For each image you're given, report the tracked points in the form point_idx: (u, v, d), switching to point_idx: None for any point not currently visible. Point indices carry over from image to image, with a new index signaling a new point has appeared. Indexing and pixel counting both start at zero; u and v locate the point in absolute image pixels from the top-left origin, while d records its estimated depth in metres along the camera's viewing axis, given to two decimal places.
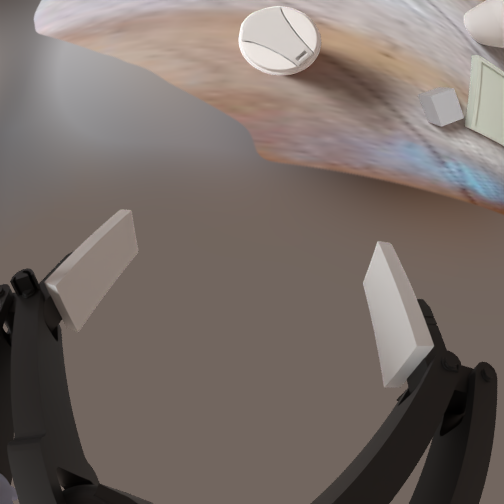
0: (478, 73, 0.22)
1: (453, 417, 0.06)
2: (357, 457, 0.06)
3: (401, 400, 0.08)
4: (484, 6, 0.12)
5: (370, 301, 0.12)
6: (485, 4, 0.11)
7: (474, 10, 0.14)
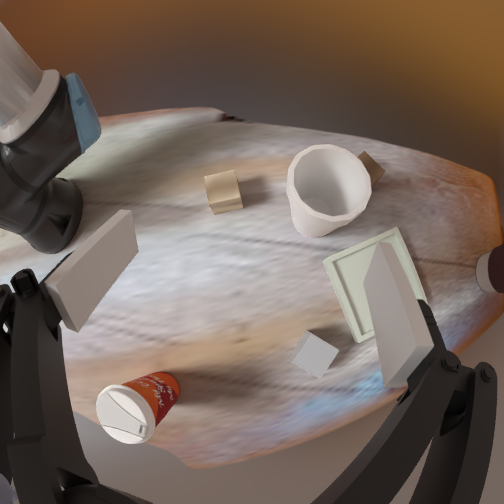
0: (335, 278, 0.37)
1: (453, 417, 0.06)
2: (357, 457, 0.06)
3: (401, 400, 0.08)
4: (290, 204, 0.33)
5: (370, 301, 0.12)
6: (289, 200, 0.33)
7: (291, 211, 0.37)
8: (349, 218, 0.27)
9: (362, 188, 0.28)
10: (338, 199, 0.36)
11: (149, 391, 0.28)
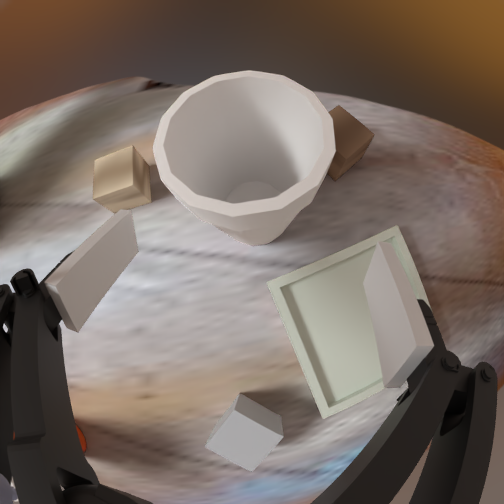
0: (285, 317, 0.21)
1: (453, 417, 0.06)
2: (357, 457, 0.06)
3: (401, 400, 0.08)
4: None
5: (370, 301, 0.12)
6: None
7: None
8: (277, 207, 0.12)
9: (318, 145, 0.13)
10: (290, 179, 0.21)
11: None
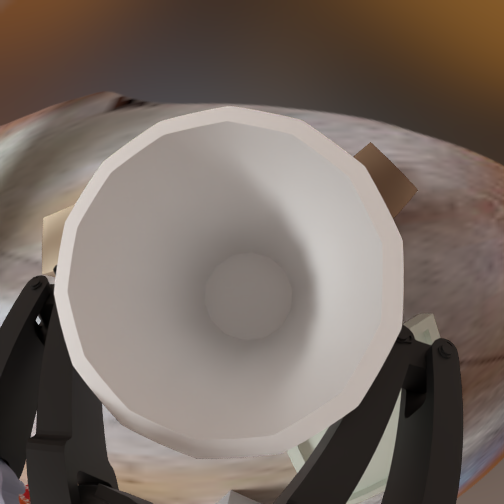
0: None
1: (417, 397, 0.08)
2: (321, 439, 0.07)
3: None
4: None
5: None
6: None
7: None
8: (276, 450, 0.05)
9: (365, 291, 0.07)
10: (299, 269, 0.14)
11: None
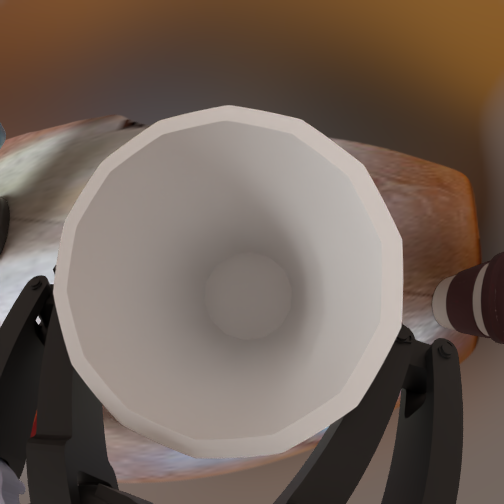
0: None
1: (417, 397, 0.08)
2: (321, 439, 0.07)
3: None
4: None
5: None
6: None
7: None
8: (274, 450, 0.05)
9: (364, 291, 0.07)
10: (299, 269, 0.14)
11: None
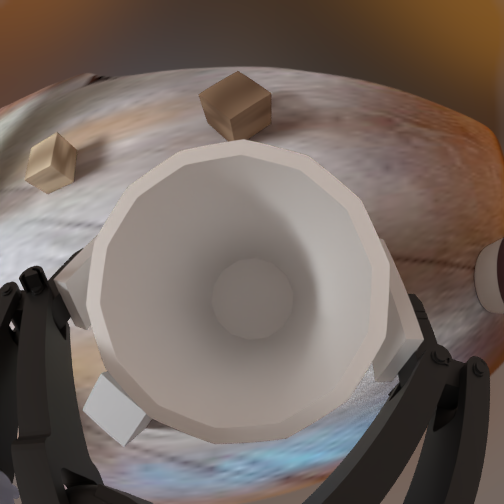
0: None
1: (446, 412, 0.07)
2: (350, 453, 0.06)
3: (392, 395, 0.08)
4: None
5: None
6: None
7: None
8: (281, 436, 0.07)
9: (356, 305, 0.08)
10: (300, 277, 0.16)
11: None
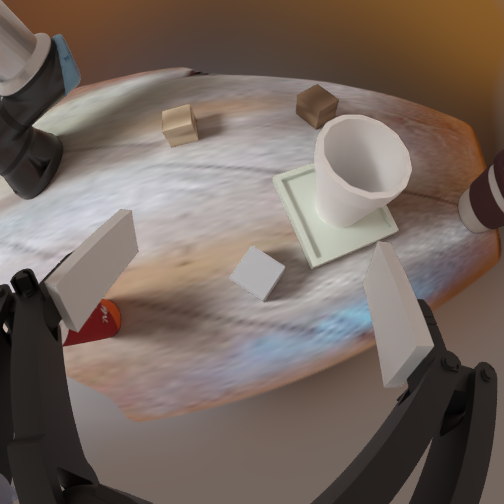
0: (284, 195, 0.35)
1: (453, 417, 0.06)
2: (357, 457, 0.06)
3: (401, 400, 0.08)
4: (317, 183, 0.27)
5: (370, 301, 0.12)
6: (316, 178, 0.27)
7: (316, 194, 0.31)
8: (390, 196, 0.21)
9: (400, 165, 0.23)
10: (368, 183, 0.30)
11: None
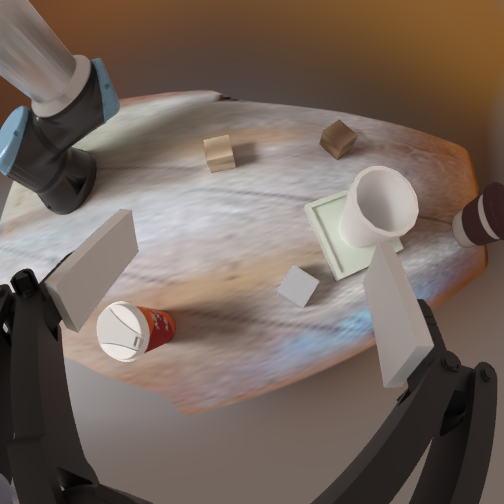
0: (315, 221, 0.42)
1: (453, 417, 0.06)
2: (357, 457, 0.06)
3: (401, 400, 0.08)
4: (346, 218, 0.35)
5: (370, 301, 0.12)
6: (346, 214, 0.35)
7: (342, 223, 0.39)
8: (402, 234, 0.29)
9: (410, 207, 0.31)
10: (382, 213, 0.38)
11: (146, 312, 0.33)
